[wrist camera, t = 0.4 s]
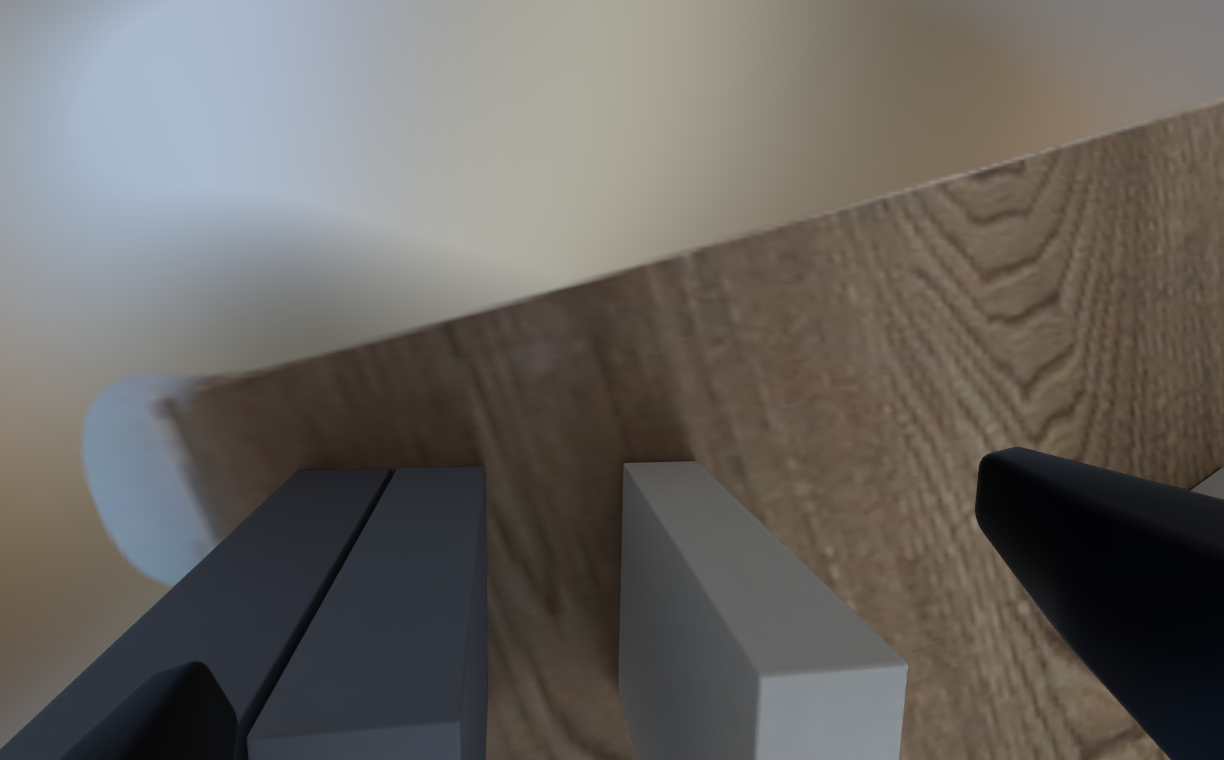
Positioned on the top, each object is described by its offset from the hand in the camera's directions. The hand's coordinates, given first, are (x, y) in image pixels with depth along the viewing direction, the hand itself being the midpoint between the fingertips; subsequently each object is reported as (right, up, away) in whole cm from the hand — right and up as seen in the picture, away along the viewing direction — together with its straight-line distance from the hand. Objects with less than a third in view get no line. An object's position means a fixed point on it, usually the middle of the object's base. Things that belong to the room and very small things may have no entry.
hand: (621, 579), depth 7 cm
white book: (+2, -5, +17) cm, 18 cm away
